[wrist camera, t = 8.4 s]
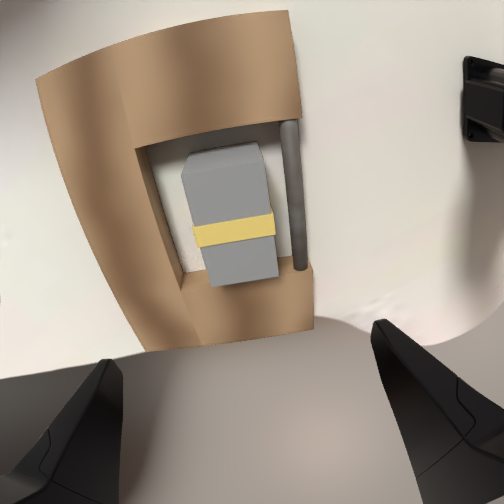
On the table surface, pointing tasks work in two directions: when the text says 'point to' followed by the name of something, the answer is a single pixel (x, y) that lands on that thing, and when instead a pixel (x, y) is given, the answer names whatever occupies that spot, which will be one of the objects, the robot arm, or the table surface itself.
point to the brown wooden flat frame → (142, 181)
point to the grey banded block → (231, 213)
